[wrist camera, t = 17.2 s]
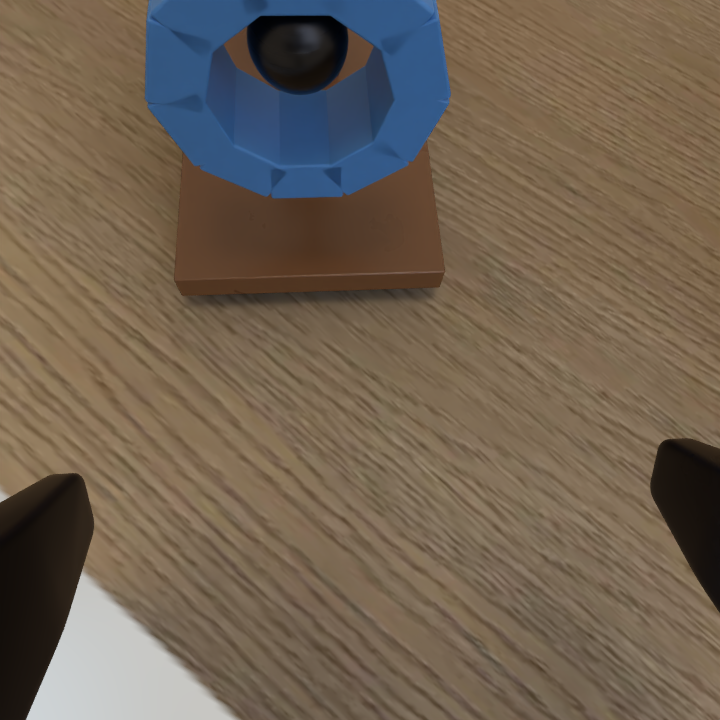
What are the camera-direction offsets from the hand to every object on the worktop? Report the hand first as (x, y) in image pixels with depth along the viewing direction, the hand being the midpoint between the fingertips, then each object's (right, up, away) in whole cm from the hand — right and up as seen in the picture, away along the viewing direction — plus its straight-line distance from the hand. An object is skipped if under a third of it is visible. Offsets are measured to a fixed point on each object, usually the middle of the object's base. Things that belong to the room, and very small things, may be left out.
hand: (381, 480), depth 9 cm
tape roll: (-2, +8, +9) cm, 12 cm away
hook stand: (-3, +11, +16) cm, 20 cm away
